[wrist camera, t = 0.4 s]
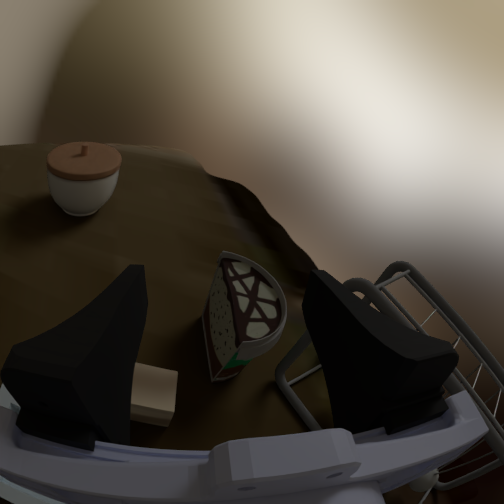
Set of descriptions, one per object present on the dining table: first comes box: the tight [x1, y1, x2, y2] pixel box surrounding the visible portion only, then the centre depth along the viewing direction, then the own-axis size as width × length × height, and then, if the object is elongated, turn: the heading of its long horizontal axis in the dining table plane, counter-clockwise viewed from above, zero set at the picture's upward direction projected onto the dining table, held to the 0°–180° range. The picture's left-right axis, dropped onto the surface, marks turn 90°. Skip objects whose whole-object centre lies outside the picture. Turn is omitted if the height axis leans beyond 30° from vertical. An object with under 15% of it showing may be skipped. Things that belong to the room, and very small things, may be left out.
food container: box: [202, 251, 287, 383], centre depth 31 cm, size 12×6×10 cm, turn 13°
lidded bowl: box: [47, 142, 122, 216], centre depth 40 cm, size 13×13×11 cm
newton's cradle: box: [275, 261, 504, 504], centre depth 23 cm, size 30×10×18 cm, turn 35°
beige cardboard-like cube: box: [130, 363, 178, 427], centre depth 23 cm, size 4×5×5 cm
